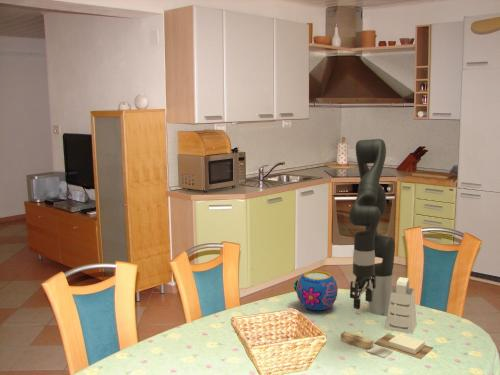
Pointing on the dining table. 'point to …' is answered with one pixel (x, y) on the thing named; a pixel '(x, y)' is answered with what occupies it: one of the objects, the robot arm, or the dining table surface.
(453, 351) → the dining table surface
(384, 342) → the board
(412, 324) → the grater
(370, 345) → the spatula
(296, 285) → the ceramic pot
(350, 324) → the dining table surface
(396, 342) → the tile
